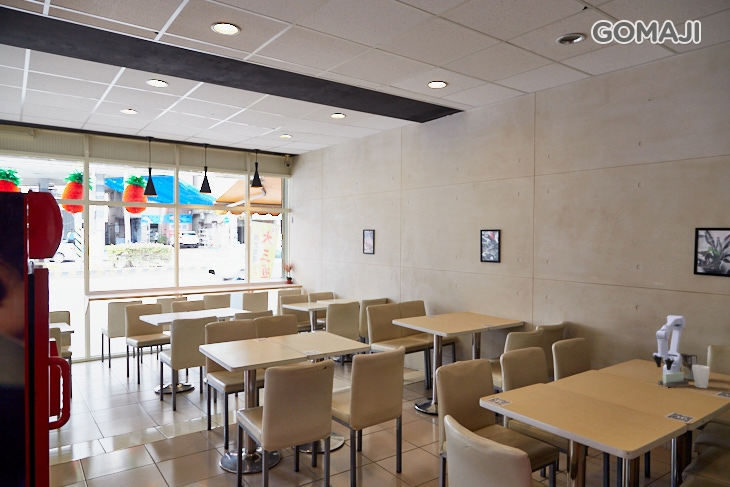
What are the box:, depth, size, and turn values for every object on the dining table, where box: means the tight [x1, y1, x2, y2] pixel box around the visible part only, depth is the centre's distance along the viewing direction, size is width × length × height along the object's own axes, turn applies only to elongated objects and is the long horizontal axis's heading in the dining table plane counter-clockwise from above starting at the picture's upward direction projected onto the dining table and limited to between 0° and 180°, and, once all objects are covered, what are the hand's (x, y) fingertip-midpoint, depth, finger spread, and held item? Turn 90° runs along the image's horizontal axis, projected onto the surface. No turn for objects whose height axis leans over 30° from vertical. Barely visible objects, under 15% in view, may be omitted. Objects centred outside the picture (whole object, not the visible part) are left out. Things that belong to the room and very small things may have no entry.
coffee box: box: [679, 352, 698, 381], centre depth 323 cm, size 9×6×16 cm
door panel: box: [662, 371, 685, 385], centre depth 307 cm, size 2×14×7 cm, turn 104°
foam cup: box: [692, 364, 710, 389], centre depth 302 cm, size 10×9×13 cm
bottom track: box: [656, 380, 691, 388], centre depth 307 cm, size 9×18×3 cm, turn 103°
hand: (663, 368), depth 313 cm, fingers open, 7 cm apart
